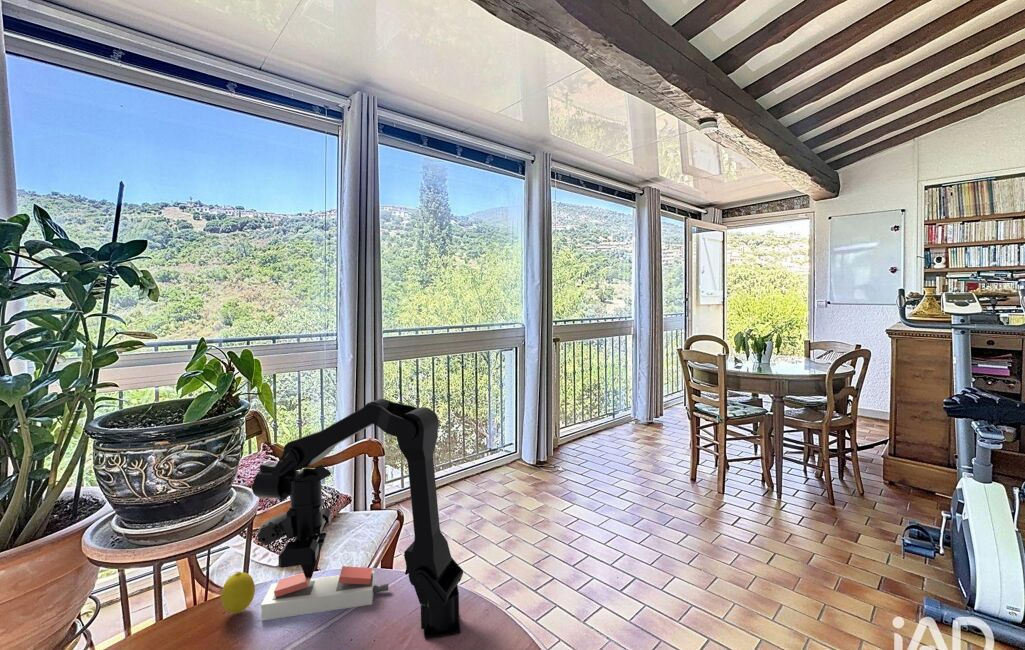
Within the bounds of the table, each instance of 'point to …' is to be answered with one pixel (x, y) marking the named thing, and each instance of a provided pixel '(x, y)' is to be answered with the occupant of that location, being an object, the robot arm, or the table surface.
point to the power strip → (319, 597)
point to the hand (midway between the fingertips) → (309, 577)
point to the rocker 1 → (291, 584)
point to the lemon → (238, 592)
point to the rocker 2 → (355, 575)
